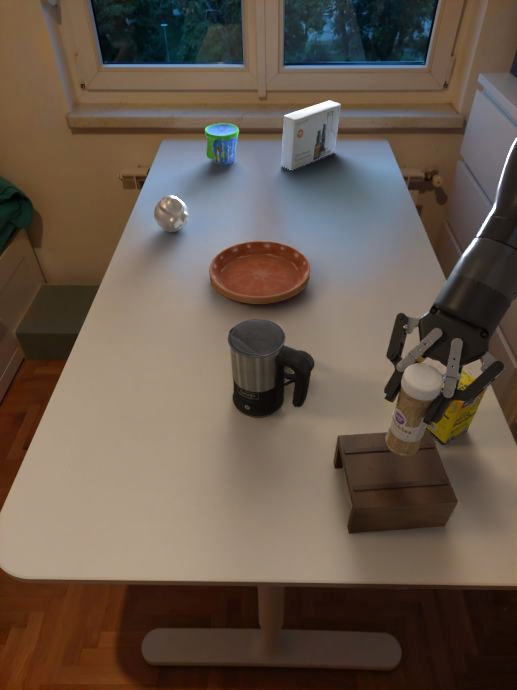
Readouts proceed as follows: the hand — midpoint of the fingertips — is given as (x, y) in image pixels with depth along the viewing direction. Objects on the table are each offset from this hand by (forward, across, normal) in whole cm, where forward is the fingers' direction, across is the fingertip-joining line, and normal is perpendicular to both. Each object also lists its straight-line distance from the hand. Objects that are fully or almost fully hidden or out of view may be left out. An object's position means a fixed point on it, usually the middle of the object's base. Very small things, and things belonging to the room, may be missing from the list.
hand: (407, 411), depth 60 cm
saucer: (-6, -51, +36) cm, 63 cm away
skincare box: (-48, -84, +78) cm, 124 cm away
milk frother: (+10, -27, +20) cm, 35 cm away
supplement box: (+2, 0, +28) cm, 28 cm away
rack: (+14, 0, +16) cm, 21 cm away
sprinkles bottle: (+5, 0, +8) cm, 9 cm away
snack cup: (-34, -105, +65) cm, 128 cm away
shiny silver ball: (-6, -83, +37) cm, 91 cm away
